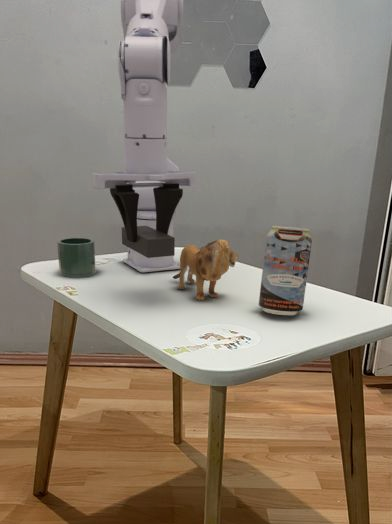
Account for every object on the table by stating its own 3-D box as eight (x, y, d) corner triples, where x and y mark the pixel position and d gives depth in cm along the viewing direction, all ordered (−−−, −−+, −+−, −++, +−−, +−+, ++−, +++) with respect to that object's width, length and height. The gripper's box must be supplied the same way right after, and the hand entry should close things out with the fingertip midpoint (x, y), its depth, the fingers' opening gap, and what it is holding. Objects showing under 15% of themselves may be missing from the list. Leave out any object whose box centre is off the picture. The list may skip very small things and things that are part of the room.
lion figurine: (241, 301, 83) (244, 240, 80) (212, 307, 80) (214, 244, 77) (186, 279, 94) (186, 224, 91) (158, 283, 91) (158, 227, 88)
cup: (56, 270, 98) (53, 238, 96) (89, 267, 100) (88, 236, 98) (65, 278, 93) (62, 245, 91) (100, 275, 95) (98, 243, 93)
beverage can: (254, 318, 76) (260, 228, 72) (263, 303, 83) (269, 220, 78) (301, 323, 74) (310, 232, 70) (306, 307, 81) (315, 223, 77)
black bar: (121, 244, 84) (121, 227, 83) (146, 242, 86) (146, 225, 85) (147, 258, 76) (147, 239, 75) (174, 255, 78) (174, 237, 77)
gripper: (103, 138, 69) (107, 249, 74) (207, 139, 75) (204, 241, 80) (86, 136, 75) (91, 239, 80) (184, 137, 81) (183, 232, 86)
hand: (146, 239), depth 81 cm, fingers closed on black bar, 4 cm apart
